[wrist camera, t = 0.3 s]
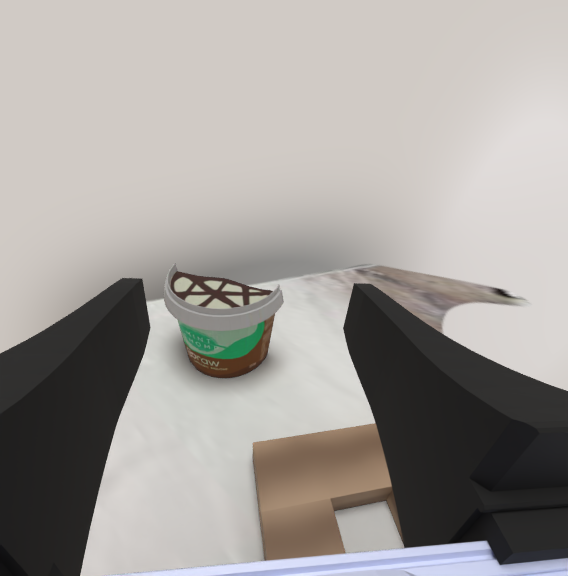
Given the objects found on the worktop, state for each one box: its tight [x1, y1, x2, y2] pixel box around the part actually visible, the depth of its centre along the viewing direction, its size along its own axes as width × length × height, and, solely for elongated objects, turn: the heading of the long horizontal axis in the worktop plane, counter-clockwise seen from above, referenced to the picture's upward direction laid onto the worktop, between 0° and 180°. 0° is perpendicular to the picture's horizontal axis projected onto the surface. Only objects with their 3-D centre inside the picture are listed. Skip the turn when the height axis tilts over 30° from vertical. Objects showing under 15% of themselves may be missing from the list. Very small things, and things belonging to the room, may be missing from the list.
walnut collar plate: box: [253, 423, 403, 561], centre depth 23 cm, size 15×15×2 cm
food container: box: [164, 264, 284, 378], centre depth 33 cm, size 12×6×10 cm, turn 75°
